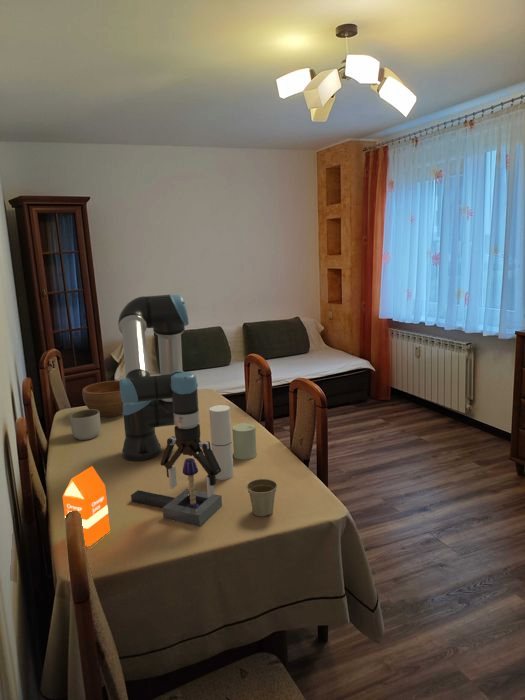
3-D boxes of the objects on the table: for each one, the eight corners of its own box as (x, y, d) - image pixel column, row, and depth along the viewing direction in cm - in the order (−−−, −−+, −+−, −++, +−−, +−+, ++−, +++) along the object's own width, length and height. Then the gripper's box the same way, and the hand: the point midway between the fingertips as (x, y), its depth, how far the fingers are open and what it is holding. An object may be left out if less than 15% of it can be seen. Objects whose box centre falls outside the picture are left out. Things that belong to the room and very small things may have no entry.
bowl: (99, 407, 266) (96, 380, 263) (144, 408, 262) (142, 380, 259) (75, 424, 242) (72, 393, 239) (125, 424, 238) (122, 393, 235)
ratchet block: (121, 508, 159) (120, 498, 158) (147, 490, 170) (146, 481, 170) (200, 526, 147) (199, 515, 146) (222, 505, 158) (221, 495, 157)
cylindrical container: (218, 481, 175) (213, 412, 170) (210, 473, 181) (206, 407, 176) (236, 476, 178) (233, 409, 173) (228, 469, 184) (225, 403, 180)
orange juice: (67, 543, 141) (59, 477, 137) (89, 527, 149) (81, 464, 145) (90, 548, 138) (82, 480, 134) (110, 531, 146) (103, 467, 142)
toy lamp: (191, 515, 152) (188, 464, 148) (181, 510, 155) (178, 460, 151) (203, 509, 155) (201, 459, 152) (193, 504, 158) (191, 455, 155)
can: (254, 460, 192) (252, 430, 189) (230, 459, 194) (229, 429, 191) (259, 450, 200) (257, 422, 198) (236, 449, 202) (235, 421, 200)
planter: (66, 440, 221) (63, 416, 218) (85, 430, 232) (83, 408, 230) (88, 443, 216) (86, 419, 214) (107, 433, 227) (105, 410, 225)
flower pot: (246, 505, 158) (245, 479, 156) (276, 502, 159) (275, 477, 157) (248, 520, 149) (247, 493, 147) (280, 518, 149) (279, 491, 148)
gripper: (145, 424, 152) (151, 489, 156) (216, 434, 141) (221, 503, 145) (160, 416, 158) (165, 479, 162) (229, 425, 148) (233, 492, 152)
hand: (191, 490), depth 154 cm, fingers open, 13 cm apart
